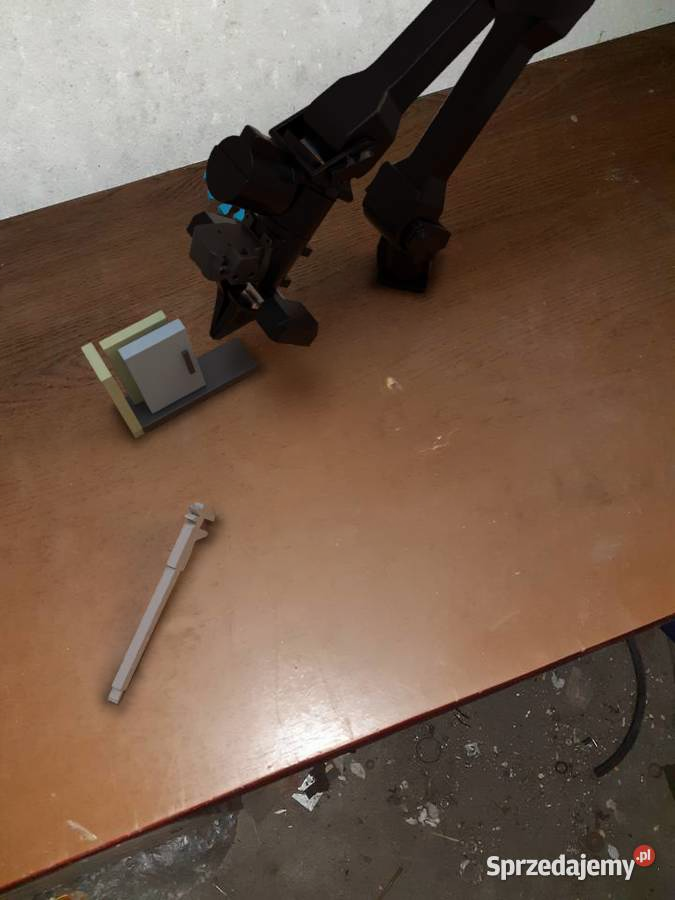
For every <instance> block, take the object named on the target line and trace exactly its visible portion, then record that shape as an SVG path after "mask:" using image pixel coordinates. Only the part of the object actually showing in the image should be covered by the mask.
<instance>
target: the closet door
mask: <svg viewBox="0 0 675 900" xmlns="http://www.w3.org/2000/svg"><path fill="white" fill-rule="evenodd" d="M118 352H119V354H120V356H121V358H122V360H123V361H124V363H125V365H126V367H127V369H128V371H129V373H130V375H131V376H132V378H133V380H134V382H135V384H136V386H137V388H138V390H139V391H140V393H141V395H142V397H143V399H144V401H145V403H146V405H147V406H148V408H149V409H150V411H151V413H152V414H153V413H155V412H157V411H159V410H161V409H162V408H164V407H166V406H168V405H170V404H172V403H173V402H175V401H177V400H179V399H181V398H183V397H184V396H186V395H188V394H190V393H192V392H193V391H195V390H197V389H199V388H201V387H203V386H204V385H206V383H205V380H204V377H203V375H202V372H201V369H200V366H199V364H198V361H197V358H198V357H197V356H196V353H195V351H194V347H193V345H192V342H191V339H190V337H189V334H188V331H187V328H186V327H185V325H184V324H183V322H182V321H181V319H180V318H176V319H174V320H172V321H170V322H169V323H168V324H166V325H164V326H162V327H160V328H158V329H157V330H155V331H153V332H151V333H149V334H147V335H145V336H143V337H141V338H139V339H137V340H135V341H133V342H131V343H129V344H128V345H126V346H124V347H122V348H120V349H118Z"/></svg>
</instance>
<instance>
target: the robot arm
mask: <svg viewBox="0 0 675 900" xmlns="http://www.w3.org/2000/svg"><path fill="white" fill-rule="evenodd" d="M595 2H596V0H430V1H429V3H428V4H427V5H426V6H425V7H424V8H423V9H422V10H420V12H419V13H418V14H417V15H416V17H415V18H414V19H413V20H412V21H411V22H410V23H409V24H408V25H407V26H406V27H405V28H404V29H403V31H402V32H401V33H400V34H399V35H398V36H397V37H396V38H395V39H394V40H393V41H392V42H391V43H390V44H389V45H388V46H387V48H386V49H384V51H383V52H382V53H381V54H380V55H379V56H378V57H377V58H376V59H375V60H374V61H373V62H372V63H371V64H369V65H368V66H367V67H366V68H365V69H363V70H360V71H357V72H354V73H351V74H347V75H344V76H342V77H339V78H338V79H337V80H336V81H335V82H333V83H332V84H331V85H329V86H328V87H327V88H326V89H325V90H324V91H322V92H321V93H320V94H318V96H316V97H315V98H314V99H313V100H312V101H311V102H310V103H309V104H307V105H306V106H304V107H303V108H301V109H299V110H298V111H297V112H295V113H293V114H292V115H290V116H288V117H287V118H285V119H284V120H282V121H281V122H278V123H277V124H276V125H274V126H273V127H271V128H270V129H268V131H267V133H268V135H266V134H264V133H262V132H261V130H259V129H258V128H256V127H255V126H253V125H250V124H245V126H244V127H243V128H242V130H241V132H240V134H239V135H237V134H236V135H235V134H231V135H229V136H226V137H225V138H223V139H222V140H221V141H220V142H219V143H218V144H215V145H214V146H213V148H212V149H211V151H210V153H209V156H208V157H207V163H206V166H205V167H206V168H205V172H206V181H205V182H206V186H207V191H208V190H209V192H210V194H211V196H212V197H213V198H214V200H215V201H217V202H220V203H222V204H227V205H228V204H229V205H232V206H231V207H235V208H239V209H240V208H241V209H244V210H245V211H248V212H246V213H244V217H243V219H242V220H241V221H240V222H238V223H237V221H236V220H234V219H233V218H230V217H226V216H224V215H221V214H217V213H213V212H210V211H208V210H207V211H206V210H203V211H201V212H199V213H197V214H194V215H193V217H192V218H191V219H190V221H189V223H188V225H187V227H186V229H185V231H186V232H187V233H188V235H189V236H190V237H191V243H190V248H189V252H188V258H189V259H190V261H192V262H194V263H195V265H196V266H197V268H199V270H200V272H201V275H202V276H203V278H205V279H206V280H207V281H210V282H214V283H215V284H216V287H217V288H216V296H215V302H214V308H213V313H212V318H211V324H210V327H209V335H208V336H209V337H210V338H211V339H212V340H213V341H221V340H222V339H224V338H226V337H227V336H229V335H231V334H233V333H234V332H236V331H238V330H240V329H241V328H243V327H244V326H247V325H248V324H250V323H252V322H254V321H255V322H256V324H257V325H258V326H259V328H260V329H261V330H262V331H263V333H264V334H265V335H266V337H267V338H268V339H269V340H270V341H272V342H273V343H275V344H281V345H289V346H298V347H305V348H306V347H307V348H310V347H311V345H312V344H313V342H314V341H315V339H316V338H317V337H318V336H319V333H320V325H319V322H318V321H317V319H316V318H315V317H314V316H313V314H312V312H310V310H309V309H308V308H307V307H306V306H305V305H304V303H303V302H302V301H299V300H293V299H288V298H286V297H285V295H283V293H282V292H281V291H280V290H279V288H283V289H288V288H289V287H290V286H291V284H292V282H293V280H292V279H291V277H289V273H290V271H291V269H292V268H293V266H295V264H296V262H297V261H298V259H299V258H300V256H301V257H305V258H309V257H310V256H311V254H312V253H313V251H314V248H313V247H312V246H310V244H309V242H310V241H311V240H312V238H313V236H314V235H315V234H316V232H317V230H318V228H319V227H320V226H321V224H322V223H323V221H324V220H325V218H326V217H327V215H328V214H329V212H330V211H331V209H332V208H333V206H334V205H335V203H336V202H337V200H339V201H343V202H345V203H348V204H350V203H353V202H354V199H355V198H354V193H353V189H352V180H353V179H355V180H359V179H361V178H362V177H365V175H367V174H368V173H369V172H371V171H372V170H373V169H374V167H375V166H376V165H377V164H378V163H379V161H380V160H381V158H382V157H383V156H384V155H385V153H387V151H388V150H389V148H390V147H391V146H392V145H393V144H394V142H395V140H396V138H397V135H398V131H399V128H400V125H401V124H400V123H401V120H402V117H403V116H404V114H405V113H406V111H407V110H408V109H409V107H410V106H411V105H412V104H413V103H414V102H415V101H416V100H417V99H418V98H419V97H420V96H421V95H422V94H423V93H424V92H425V91H426V90H427V88H429V87H430V86H431V84H432V83H434V81H435V80H437V78H439V77H440V76H441V74H442V73H443V72H444V71H445V70H446V69H447V68H448V67H450V65H451V64H452V63H453V62H454V61H455V60H456V59H457V58H458V57H459V56H460V55H461V53H463V52H464V51H465V49H466V48H467V47H468V46H469V45H470V44H471V43H473V41H474V40H476V38H477V37H478V36H479V35H480V34H481V33H482V32H483V31H484V30H485V29H486V28H487V27H488V26H489V25H490V24H491V23H492V22H493V23H492V25H491V26H490V28H489V30H488V32H487V34H486V36H484V38H483V40H482V41H481V43H480V45H479V46H478V48H477V50H476V51H475V53H474V54H473V56H472V57H471V59H470V61H469V62H468V63H467V65H466V66H465V69H463V71H462V73H461V74H460V76H459V78H458V79H457V81H456V82H455V84H454V85H453V87H452V88H451V90H450V92H449V93H448V94H447V97H446V98H445V100H444V101H443V103H442V104H441V106H440V107H439V109H438V111H437V112H436V113H435V115H434V117H433V118H432V120H431V121H430V123H429V125H428V126H427V127H426V129H425V131H424V133H423V134H422V136H421V137H420V138H419V140H418V142H417V143H416V145H415V147H414V148H413V150H412V151H411V152H410V154H409V155H407V156H405V157H404V158H401V159H399V160H397V161H396V162H393V163H391V162H390V161H389V160H385V161H384V162H383V163H381V164H380V166H379V167H378V170H377V172H376V174H375V175H374V178H373V179H372V180H371V182H370V183H369V184H368V185H367V186H366V187H365V188H364V191H365V192H366V193H365V195H364V197H363V198H362V203H361V206H362V211H363V215H364V217H365V219H366V220H367V221H368V222H369V223H370V224H371V225H372V226H373V227H374V228H375V229H376V230H377V231H378V233H380V236H379V238H378V241H377V244H376V262H375V263H376V268H377V269H378V272H377V275H376V283H377V284H379V285H385V286H388V287H393V288H398V289H404V290H407V291H408V290H409V291H413V292H418V293H426V292H427V290H428V286H429V283H430V279H431V276H432V273H433V270H434V266H435V263H436V259H437V254H439V252H440V251H442V250H444V249H445V248H447V245H448V244H449V241H450V239H451V237H452V232H451V231H450V230H449V229H448V228H447V227H446V226H445V225H444V224H443V223H442V222H440V218H441V217H442V214H443V212H444V210H445V204H446V203H445V201H446V193H447V184H448V181H449V179H450V178H451V176H452V175H453V173H454V172H455V170H456V169H457V168H458V166H459V164H460V163H461V161H463V159H464V157H465V156H466V154H467V153H468V151H470V149H471V146H473V144H474V142H475V141H476V140H477V139H478V137H479V135H480V134H481V132H482V131H483V129H484V128H485V127H486V125H487V124H488V122H489V120H490V119H491V118H492V117H493V116H494V113H495V112H496V110H497V109H498V108H499V106H500V105H501V103H502V101H503V100H504V99H505V97H506V96H507V94H508V93H509V92H510V90H511V88H512V87H513V85H514V84H515V83H516V81H517V80H518V79H519V77H520V75H521V74H522V72H523V71H524V70H525V68H526V67H527V65H528V64H529V62H530V61H531V59H532V58H533V57H534V56H535V55H536V54H537V53H539V52H542V51H543V50H545V49H547V48H549V47H550V46H552V45H554V44H556V43H557V42H559V41H561V40H563V39H564V38H566V37H567V36H568V35H569V33H570V32H571V31H572V30H573V28H574V27H575V26H576V25H577V23H578V22H580V20H581V19H582V18H583V16H584V15H586V13H587V12H589V11H590V9H591V8H592V7H593V5H594V4H595ZM302 140H303V141H304V142H303V141H302ZM304 143H305V144H304ZM307 146H308V147H307ZM315 155H316V156H315ZM317 157H318V158H317Z"/></svg>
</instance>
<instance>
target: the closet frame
mask: <svg viewBox="0 0 675 900" xmlns="http://www.w3.org/2000/svg"><path fill="white" fill-rule="evenodd" d="M168 323H170V322H169V320H168V317H167V315H166V314H165V313H164V311H163V310H162V309H161V310H158V311H157V312H154V313H153V314H151V315H149V316H147V317H145V318H143V319H141V320H139V321H137V322H135V323H133V324H131V325H129V326H127V327H125V328H124V329H121V330H119V331H117V332H116V333H113V334H111V335H109V336H107V337H106V338H104V339H102V340H100V341H98V344H99V346H100V347H101V349H102V351H103V353H104V355H105V356H106V358H107V360H108V362H109V364H110V365H111V367H112V369H113V370H114V372H115V374H116V376H117V377H118V379H119V381H120V383H121V384H122V386H123V388H124V390H125V392H126V393H127V395H125V396H124V394H123V392H122V390H121V389H120V387H119V385H118V384H117V382H116V380H115V378H114V377H113V375H112V373H111V372H110V370H109V369H108V367H107V365H106V364H105V361H104V360H103V358H102V357H101V355H100V354H99V352H98V350H97V349H96V347H95V346H94V344H93V343H92V342H89V343H87V344H85V345H83V346H81V347H80V349H81V350H82V353H83V354H84V356H85V358H86V359H87V361H88V363H89V364H90V366H91V368H92V369H93V371H94V373H95V374H96V376H97V377H98V379H99V381H100V382H101V385H102V386H103V387H104V389H105V390H106V393H107V394H108V395H109V397H110V399H111V401H112V402H113V404H114V405H115V407H116V409H117V411H118V412H119V414H120V415H121V417H122V418H123V420H124V421H125V423H126V425H127V426H128V428H129V430H130V431H131V433H132V436H134V438H135V439H137V438H139V437H141V436H143V435H145V434H146V433H149V432H150V431H152V430H153V429H155V428H158V427H159V426H161V425H162V424H165V423H166V422H168V421H170V420H172V419H173V418H175V417H177V416H179V415H181V414H183V413H185V412H186V411H188V410H190V409H192V408H194V407H195V406H197V405H199V404H200V403H203V402H204V401H207V400H208V399H209V398H211V397H213V396H215V395H217V394H219V393H220V392H222V391H224V390H226V389H228V388H230V387H231V386H233V385H235V384H237V383H238V382H240V381H242V380H244V379H246V378H248V377H249V376H251V375H252V374H253V375H254V374H255V373H257V372H259V370H260V369H259V364H258V363H257V362H256V360H255V359H254V358H253V356H252V355H251V354H250V352H249V351H248V349H247V348H246V347H245V346H244V344H243V342H241V340H240V339H239V337H238V336H236V337H235V336H234V338H232V339H230V340H228V341H226V342H225V343H222V344H220V345H219V346H217V347H215V348H213V349H211V350H209V351H207V352H206V353H203V354H202V355H200V356H198V357H196V358H197V361H198V364H199V366H200V369H201V372H202V375H203V377H204V380H205V383H206V385H204V386H203V387H201V388H199V389H197V390H195V391H193V392H192V393H190V394H188V395H186V396H184V397H183V398H181V399H179V400H177V401H175V402H173V403H172V404H170V405H168V406H166V407H164V408H162V409H161V410H159V411H157V412H155V413H153V414H152V413H151V411H150V409H149V408H148V406H147V405H146V403H145V401H144V399H143V397H142V395H141V393H140V391H139V390H138V388H137V386H136V384H135V382H134V380H133V378H132V376H131V375H130V373H129V371H128V369H127V367H126V365H125V363H124V361H123V360H122V358H121V356H120V354H119V352H118V349H120V348H122V347H124V346H126V345H128V344H129V343H131V342H133V341H135V340H137V339H139V338H141V337H143V336H145V335H147V334H149V333H151V332H153V331H155V330H157V329H158V328H160V327H162V326H164V325H166V324H168Z"/></svg>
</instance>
